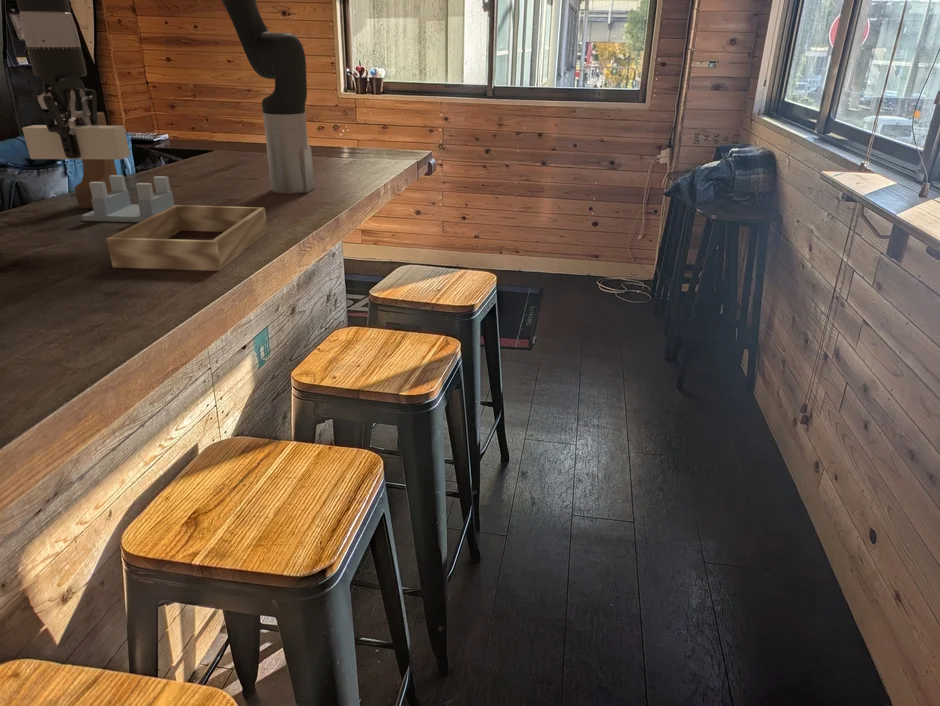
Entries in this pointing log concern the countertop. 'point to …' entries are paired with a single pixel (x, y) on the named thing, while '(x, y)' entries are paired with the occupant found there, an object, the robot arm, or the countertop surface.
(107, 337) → the countertop surface
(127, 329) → the countertop surface
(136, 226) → the tray frame
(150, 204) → the rack
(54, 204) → the countertop surface
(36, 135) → the clay strip
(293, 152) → the robot arm
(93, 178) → the wooden block
